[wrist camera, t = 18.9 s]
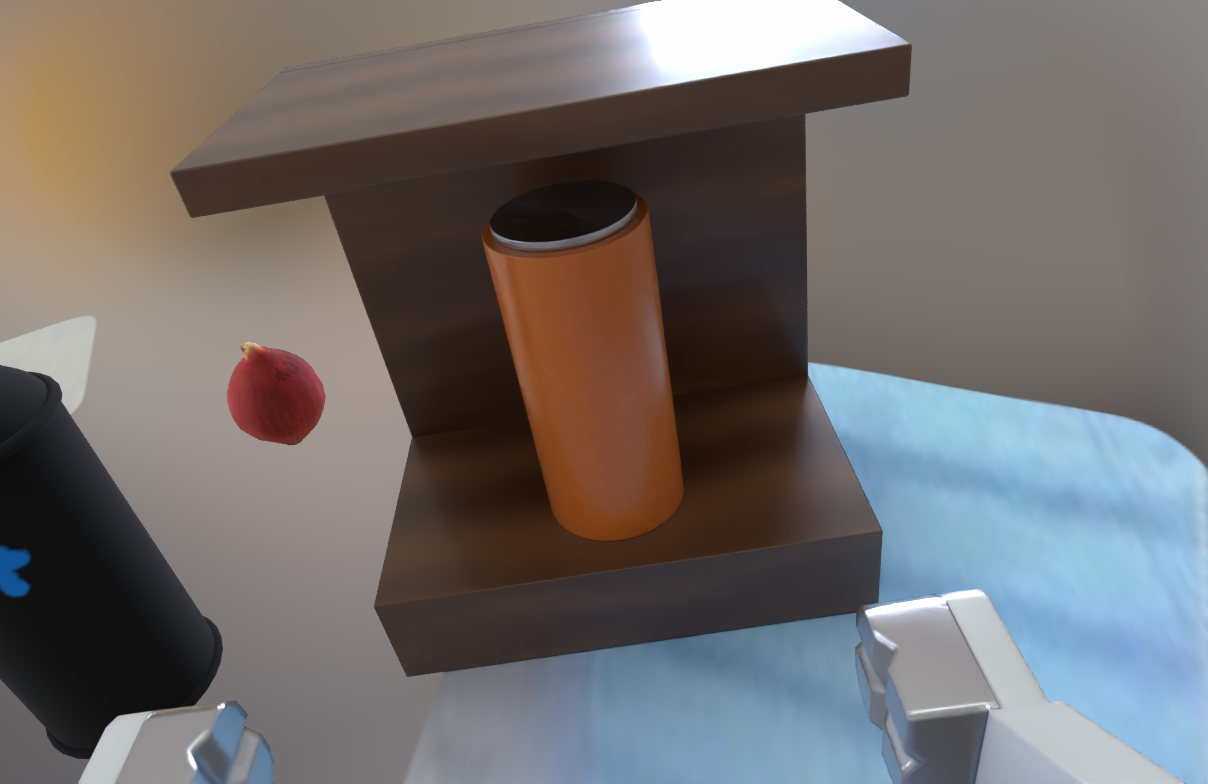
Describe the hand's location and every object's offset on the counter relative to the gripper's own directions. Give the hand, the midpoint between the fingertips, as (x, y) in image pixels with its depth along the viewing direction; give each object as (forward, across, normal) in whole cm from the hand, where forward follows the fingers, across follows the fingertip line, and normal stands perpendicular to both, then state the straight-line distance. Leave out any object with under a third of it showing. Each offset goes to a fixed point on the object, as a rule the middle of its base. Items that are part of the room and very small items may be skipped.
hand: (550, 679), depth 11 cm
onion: (+38, +22, +22) cm, 49 cm away
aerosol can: (+19, +25, +22) cm, 39 cm away
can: (+22, 0, +17) cm, 28 cm away
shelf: (+24, 0, +22) cm, 32 cm away
